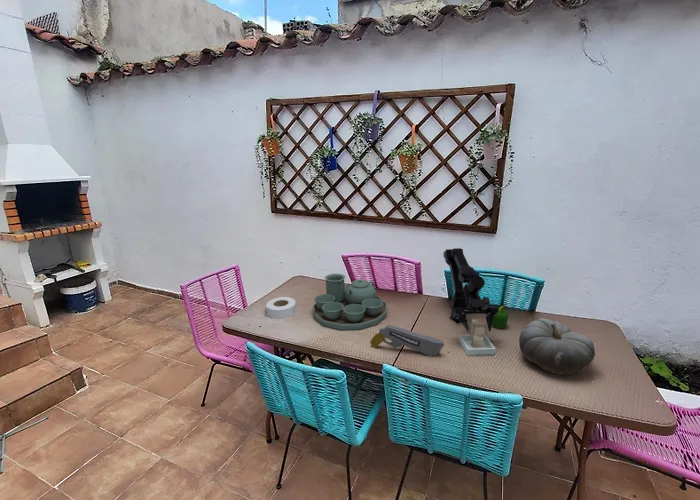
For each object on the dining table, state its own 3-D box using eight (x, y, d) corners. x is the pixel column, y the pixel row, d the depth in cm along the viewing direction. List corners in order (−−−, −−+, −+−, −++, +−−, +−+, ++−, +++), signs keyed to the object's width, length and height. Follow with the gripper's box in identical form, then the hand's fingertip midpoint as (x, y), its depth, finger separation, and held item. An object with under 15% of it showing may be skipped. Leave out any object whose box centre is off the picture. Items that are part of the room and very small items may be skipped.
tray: (458, 340, 153) (459, 334, 152) (484, 340, 153) (485, 334, 152) (467, 355, 142) (467, 349, 141) (495, 355, 142) (495, 348, 141)
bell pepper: (496, 331, 160) (498, 312, 157) (485, 323, 168) (487, 304, 165) (511, 328, 162) (513, 309, 159) (499, 320, 170) (501, 302, 167)
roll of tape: (291, 319, 177) (290, 310, 176) (262, 318, 180) (261, 308, 178) (300, 306, 192) (299, 297, 190) (273, 305, 194) (272, 296, 193)
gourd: (528, 331, 154) (539, 300, 146) (591, 361, 139) (607, 328, 131) (506, 361, 138) (516, 327, 130) (575, 398, 123) (591, 363, 115)
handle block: (470, 344, 150) (472, 319, 146) (479, 343, 149) (481, 319, 146) (473, 349, 146) (475, 324, 142) (482, 348, 146) (485, 323, 142)
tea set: (300, 324, 172) (297, 294, 168) (331, 293, 208) (330, 268, 203) (375, 337, 159) (375, 305, 154) (395, 301, 194) (395, 274, 190)
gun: (427, 375, 146) (444, 345, 140) (368, 346, 150) (382, 316, 143) (428, 370, 149) (444, 341, 143) (370, 342, 153) (383, 312, 147)
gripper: (455, 290, 144) (462, 326, 137) (499, 289, 144) (508, 325, 137) (449, 299, 154) (455, 333, 147) (490, 298, 154) (498, 332, 147)
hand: (479, 331), depth 144 cm, fingers open, 9 cm apart
